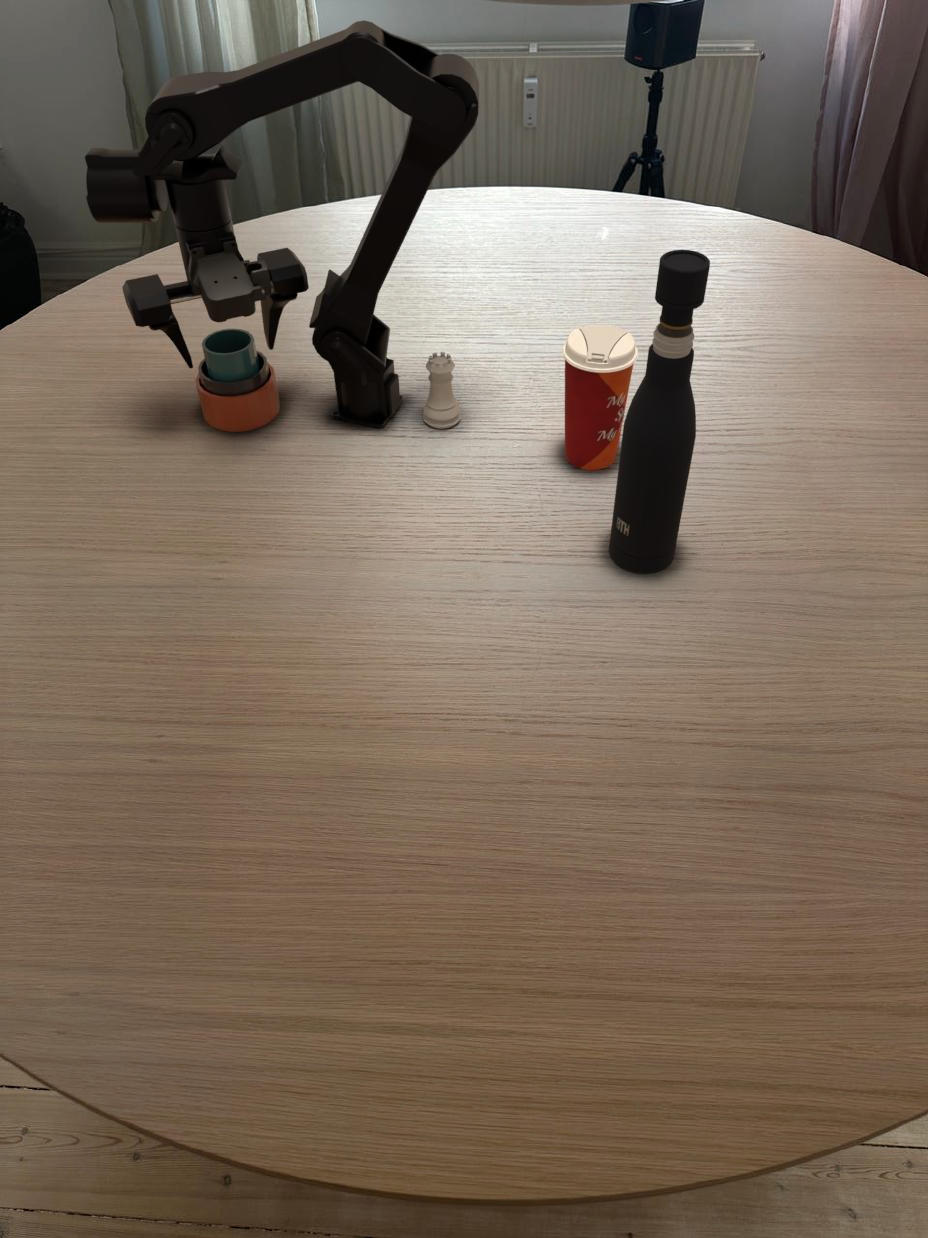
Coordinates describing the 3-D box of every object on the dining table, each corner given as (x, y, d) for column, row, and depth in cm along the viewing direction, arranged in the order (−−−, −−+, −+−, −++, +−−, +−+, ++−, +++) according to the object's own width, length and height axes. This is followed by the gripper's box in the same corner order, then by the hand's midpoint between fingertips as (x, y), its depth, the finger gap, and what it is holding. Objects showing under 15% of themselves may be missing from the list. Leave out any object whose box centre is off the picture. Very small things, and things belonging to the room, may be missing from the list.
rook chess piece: (467, 413, 115) (466, 352, 109) (451, 433, 112) (449, 371, 106) (433, 405, 116) (430, 343, 110) (416, 424, 113) (412, 363, 107)
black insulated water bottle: (679, 538, 98) (733, 247, 77) (667, 579, 94) (720, 284, 73) (616, 525, 100) (652, 236, 79) (601, 565, 96) (635, 272, 74)
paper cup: (622, 479, 105) (636, 363, 95) (551, 471, 106) (557, 356, 97) (628, 438, 111) (642, 324, 101) (560, 430, 112) (568, 317, 102)
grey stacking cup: (196, 421, 114) (185, 376, 110) (229, 387, 119) (220, 342, 115) (254, 434, 112) (245, 388, 108) (286, 398, 117) (278, 353, 113)
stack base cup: (189, 423, 114) (180, 389, 111) (228, 383, 120) (221, 350, 117) (256, 438, 112) (250, 404, 108) (293, 397, 118) (287, 363, 114)
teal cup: (205, 407, 113) (191, 349, 108) (230, 382, 117) (218, 324, 112) (249, 417, 112) (237, 358, 107) (273, 390, 116) (263, 333, 110)
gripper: (125, 271, 92) (164, 413, 103) (315, 233, 97) (332, 372, 108) (104, 225, 99) (142, 363, 110) (282, 192, 104) (301, 326, 115)
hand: (231, 357), depth 111 cm, fingers open, 9 cm apart
